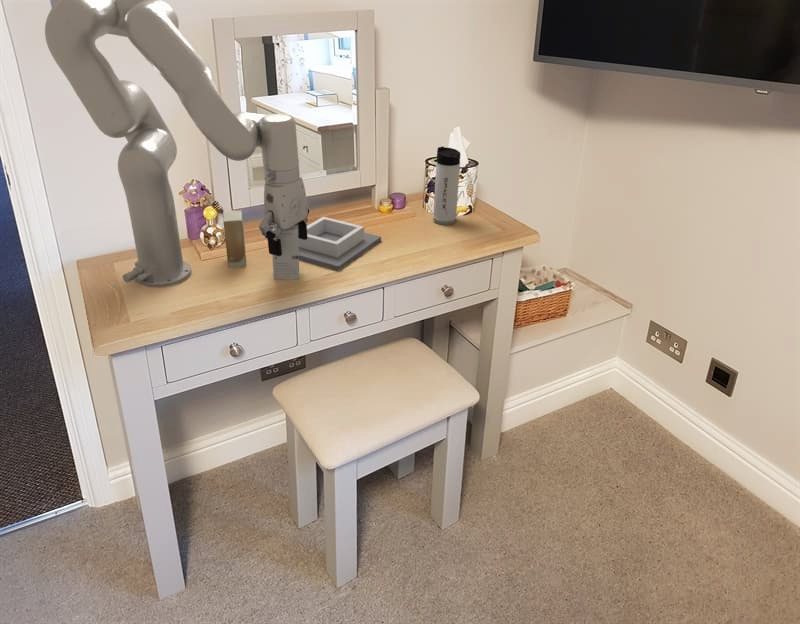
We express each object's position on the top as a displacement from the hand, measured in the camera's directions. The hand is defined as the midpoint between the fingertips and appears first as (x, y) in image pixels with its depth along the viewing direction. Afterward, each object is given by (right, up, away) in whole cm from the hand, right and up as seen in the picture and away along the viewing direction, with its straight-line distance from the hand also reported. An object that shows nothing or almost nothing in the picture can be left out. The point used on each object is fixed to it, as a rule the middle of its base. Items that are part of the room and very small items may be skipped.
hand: (288, 246), depth 157 cm
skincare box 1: (-14, -3, +9) cm, 16 cm away
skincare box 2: (-1, -7, +4) cm, 8 cm away
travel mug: (+37, +10, +34) cm, 52 cm away
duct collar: (+8, +1, +17) cm, 19 cm away
